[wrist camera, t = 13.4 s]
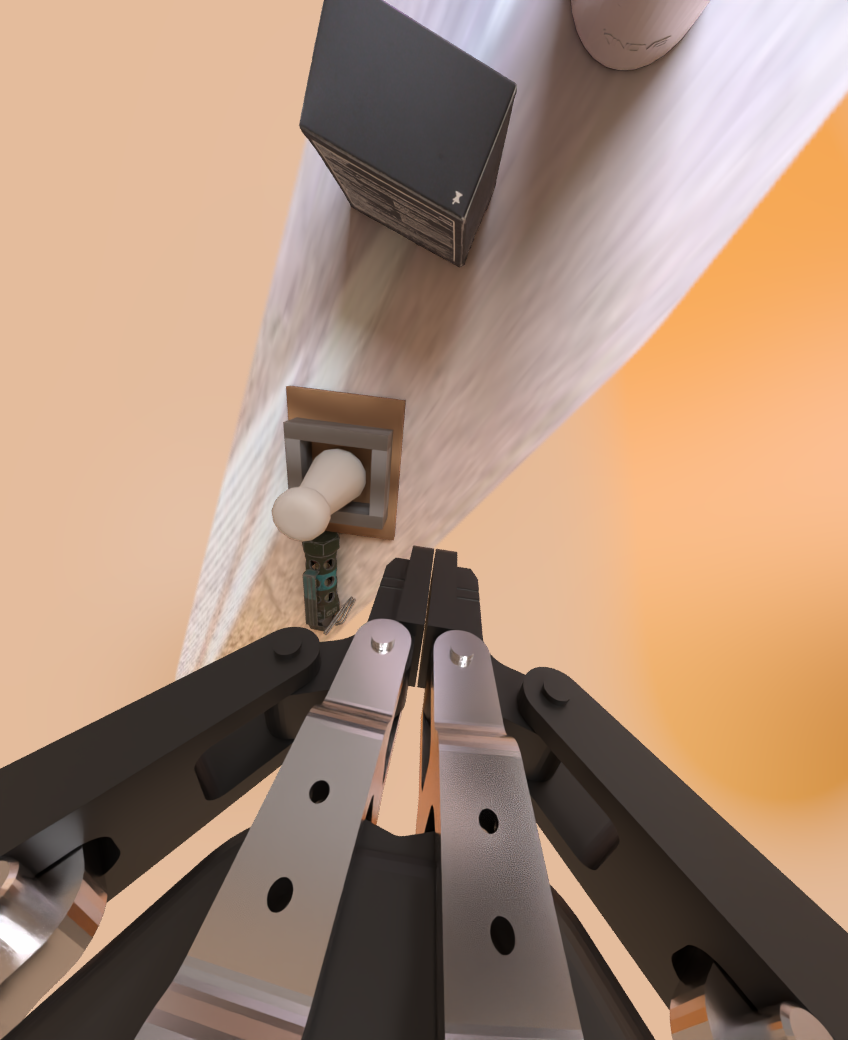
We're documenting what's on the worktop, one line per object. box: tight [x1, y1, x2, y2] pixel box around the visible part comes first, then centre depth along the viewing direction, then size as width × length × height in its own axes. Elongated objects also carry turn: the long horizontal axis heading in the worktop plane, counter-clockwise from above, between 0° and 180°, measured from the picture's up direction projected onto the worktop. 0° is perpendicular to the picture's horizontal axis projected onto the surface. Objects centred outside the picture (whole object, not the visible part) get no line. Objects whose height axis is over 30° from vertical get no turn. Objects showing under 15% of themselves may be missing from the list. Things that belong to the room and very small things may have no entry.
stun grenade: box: [302, 531, 356, 635], centre depth 42 cm, size 6×6×14 cm
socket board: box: [283, 386, 406, 540], centre depth 36 cm, size 16×12×4 cm
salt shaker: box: [272, 448, 366, 542], centre depth 31 cm, size 6×6×13 cm
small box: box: [299, 0, 517, 267], centre depth 22 cm, size 11×6×10 cm, turn 65°
